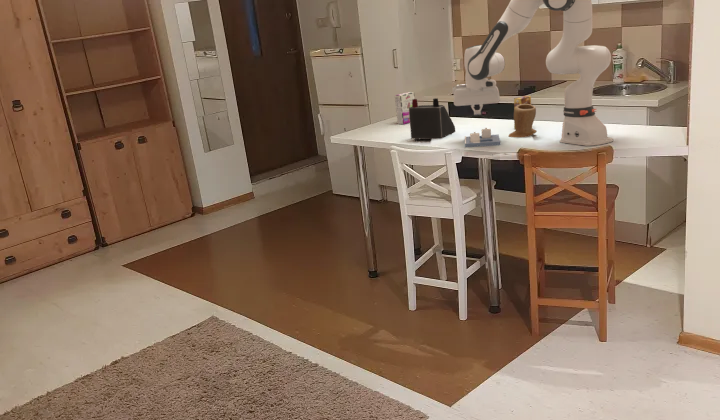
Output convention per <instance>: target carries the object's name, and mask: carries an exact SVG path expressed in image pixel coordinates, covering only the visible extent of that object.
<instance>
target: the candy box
mask: <svg viewBox="0 0 720 420" xmlns="http://www.w3.org/2000/svg"><path fill="white" fill-rule="evenodd" d="M513 99H514V100H513V106H514V107H513V109H515V107H516V106H517V105H520V104H530V105H532V96H531V95H523V96H520V97H519V96H518V97H515V98H513ZM513 123H514V124H513V127H514V128H513V129H514V131H515V130H516V127H515V122H514V121H513Z"/></svg>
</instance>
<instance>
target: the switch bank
mask: <svg viewBox="0 0 720 420" xmlns="http://www.w3.org/2000/svg"><path fill="white" fill-rule="evenodd" d="M491 146H501V139H500V135H499V134H491V138H482V135H480V142H471V143H470V135H469V136H466V135H465V136H464V148H476V147H491Z"/></svg>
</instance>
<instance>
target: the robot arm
mask: <svg viewBox="0 0 720 420" xmlns="http://www.w3.org/2000/svg"><path fill="white" fill-rule="evenodd" d="M542 5H545V7H547V8H548V9H549V10H551V11H562V12H563V13H562V15H563V19H562V20H563V22H562V23H563V27H562V28H563V29H562V37H561V38H560V41H559V42H558V44H557V45H556V46H555V47H554V48H552V49H550V51H549V52H548V54H547V55H546V58H545V65H546V66H545V67H546V69H547V70H548V72H549V73H551V74H555V75H574V74H578V75H579V78H578V79H576V80H575V81H573V82H571V83H570V84H568V85H567V86H566V87H565V89H564V107H563V116H564V119H563V122H562V129H561V137H560V140H559V143H562V144H563V143H564V144H570V145H579V146H586V147H590V146H598V145H604V144H605V145H606V144H608V143H611V142H614V138H613V137H610V136H608V130H607V126H606V125H605V124H604V123H603V122H602V121H601V120H600V119H599V118H598V117H597V116H596V112H597V108H594V105H593V90H594V86H595V83H596V81H597V79H598V77H599V76H600V75H601V74H602V73H603V72H604V71H606V70H607V69H608V67H610V64H611V61H612V54H611V52H610V49H609V48H608V47H606V46H605V45H596V44H594V45H584V46H583V45H582V46H580V44H582V43H584V42H585V41H587V40H588V39H589V38H590V37H591V35H592V33H593V3H592V0H510V1H509V3H508V5H507V6H506V9H505V10H504V12H503V13H502V15H501V17H500V18H499V20H498V21H497V22H496V24H495V25H494V26H493V28H492V29H491V30H490V32H489V33H488V35H487V36H486V38H485V40H484V41H483V43H482V44H477V45H472V46H470V47H469V46H468V47H467V48H466V49H465V50H464V55H463V56H464V58H463V59H464V60H463V61H464V69H465V76H464V77H465V81H464V82H465V83H464V84H462V83H461V84H456V85H454V86H453V87H452V88H451V89H452V90H451V91H452V95H453V105H454V106H455V107H461V106H464V107H465V106H470V107H471V109H472V111H473V115H474V116H478V115H479V116H480V115H482V109H483V106H484V105H489V104H498V103H500V102H501V98H500V97H501V96H500V91H499V88H498V86H497V81H496V80H495V79H493V78H492V79H491V78H490V77H493V76H495V75H496V76H497V75H499V74H501V73H503V71H504V70H505V67H506V60H505V57H504V56H503V55H502V54H501V53H500V52H497V51H498V50H499V48H500V47H501V45H502V44H503V43H504V42H505V41H506V40H508V39H509V38H511V37H513V36H515V35H518V34H519V33H521V32H523V31H524V30H525V29H526V28H527V27H528V26H529V24H530V23H531V21H532V20H533V18H534V16H535V14H536V12H537V10H538V9H539V8H540V7H541V6H542ZM475 105H479V109H475V107H476V106H475Z"/></svg>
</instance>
